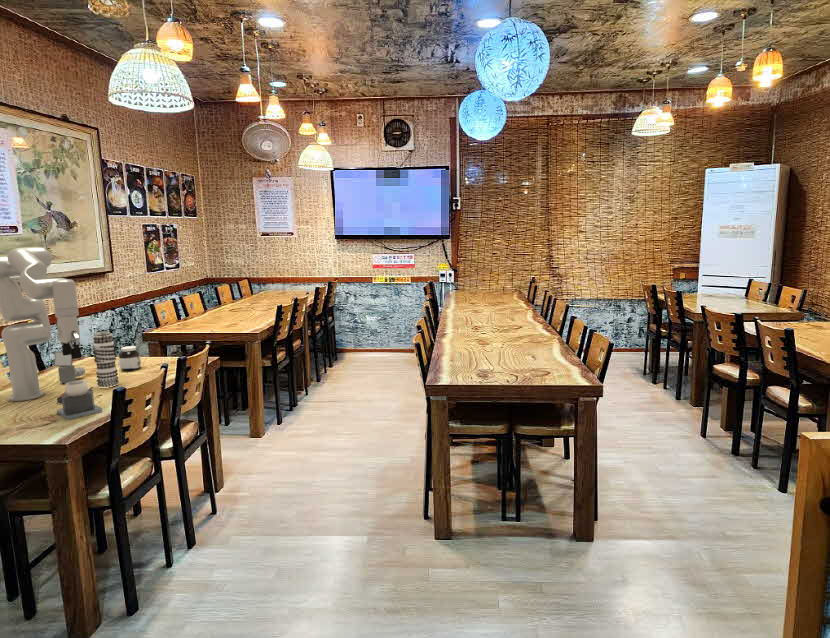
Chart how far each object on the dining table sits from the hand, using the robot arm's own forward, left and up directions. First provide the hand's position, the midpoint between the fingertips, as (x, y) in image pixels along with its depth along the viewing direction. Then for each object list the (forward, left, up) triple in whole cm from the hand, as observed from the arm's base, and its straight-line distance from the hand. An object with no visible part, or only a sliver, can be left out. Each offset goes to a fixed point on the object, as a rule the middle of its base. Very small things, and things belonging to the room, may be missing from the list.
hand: (72, 356), depth 211 cm
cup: (0, 0, -18) cm, 18 cm away
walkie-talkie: (-25, +7, -23) cm, 34 cm away
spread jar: (-58, +41, -23) cm, 74 cm away
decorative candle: (-32, +22, -23) cm, 45 cm away
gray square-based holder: (0, 0, -22) cm, 22 cm away
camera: (-56, +15, -23) cm, 62 cm away
